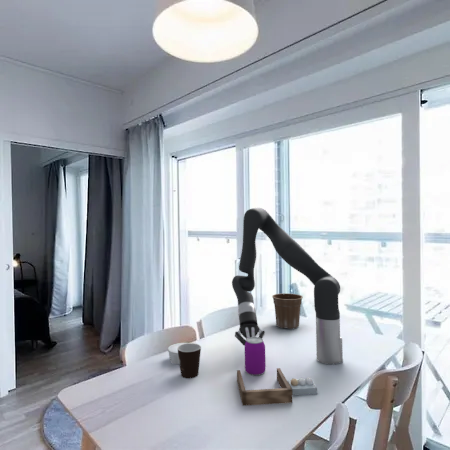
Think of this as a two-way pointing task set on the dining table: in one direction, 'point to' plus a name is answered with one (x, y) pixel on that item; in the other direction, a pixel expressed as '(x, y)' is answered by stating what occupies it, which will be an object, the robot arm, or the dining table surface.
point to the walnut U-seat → (265, 392)
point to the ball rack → (302, 386)
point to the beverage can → (255, 356)
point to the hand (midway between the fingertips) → (252, 354)
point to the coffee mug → (189, 359)
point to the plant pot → (287, 310)
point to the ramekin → (174, 353)
